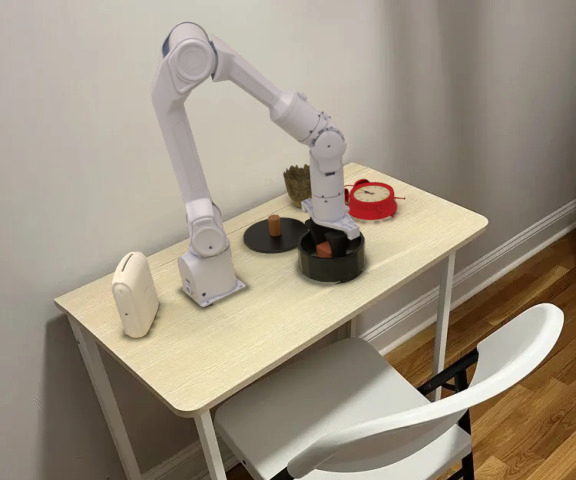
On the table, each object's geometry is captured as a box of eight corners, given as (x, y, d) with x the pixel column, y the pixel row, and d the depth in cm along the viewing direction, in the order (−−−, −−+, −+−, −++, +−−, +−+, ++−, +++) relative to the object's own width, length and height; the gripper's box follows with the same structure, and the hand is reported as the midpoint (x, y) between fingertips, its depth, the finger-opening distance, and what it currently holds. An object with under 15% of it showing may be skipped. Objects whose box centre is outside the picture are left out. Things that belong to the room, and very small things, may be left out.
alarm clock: (377, 212, 134) (324, 177, 141) (372, 237, 139) (321, 202, 146) (412, 192, 139) (359, 159, 145) (406, 217, 144) (355, 184, 150)
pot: (326, 292, 122) (324, 267, 119) (287, 265, 130) (284, 240, 127) (378, 267, 127) (378, 241, 123) (338, 242, 135) (336, 217, 131)
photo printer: (147, 339, 117) (129, 278, 109) (123, 338, 118) (103, 278, 110) (162, 303, 125) (147, 244, 116) (140, 303, 125) (123, 245, 117)
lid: (267, 263, 131) (264, 242, 128) (231, 238, 140) (228, 217, 137) (321, 238, 136) (320, 217, 133) (284, 215, 145) (282, 194, 142)
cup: (322, 197, 149) (319, 162, 144) (320, 214, 144) (317, 178, 138) (288, 198, 150) (284, 164, 145) (285, 215, 145) (281, 180, 139)
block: (330, 272, 126) (329, 254, 124) (317, 264, 129) (316, 245, 126) (347, 264, 128) (346, 245, 125) (334, 256, 130) (333, 237, 128)
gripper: (372, 196, 115) (373, 265, 124) (321, 170, 124) (325, 235, 133) (339, 211, 112) (343, 280, 121) (289, 183, 122) (296, 249, 131)
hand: (332, 258), depth 127 cm, fingers closed on block, 4 cm apart
